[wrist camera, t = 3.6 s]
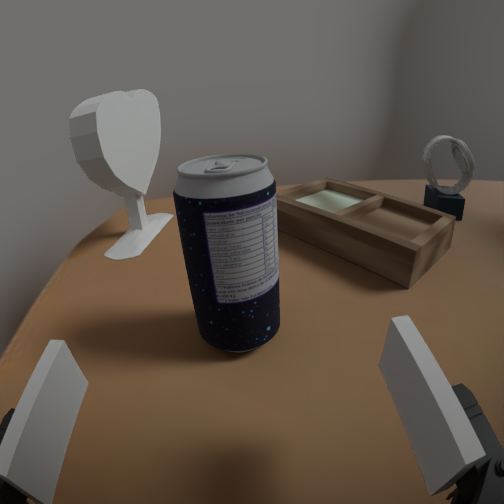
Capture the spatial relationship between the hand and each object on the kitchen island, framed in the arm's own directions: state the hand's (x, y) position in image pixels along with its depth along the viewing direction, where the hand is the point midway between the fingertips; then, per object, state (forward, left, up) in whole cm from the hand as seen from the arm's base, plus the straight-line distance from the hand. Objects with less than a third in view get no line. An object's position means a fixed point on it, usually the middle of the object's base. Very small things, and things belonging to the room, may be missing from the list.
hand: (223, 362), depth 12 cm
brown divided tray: (-24, -11, -7) cm, 27 cm away
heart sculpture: (-6, -30, -7) cm, 31 cm away
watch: (-40, -6, -7) cm, 41 cm away
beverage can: (-5, -7, -7) cm, 11 cm away
